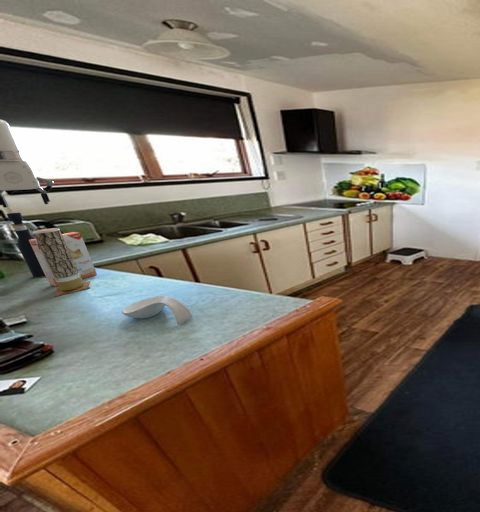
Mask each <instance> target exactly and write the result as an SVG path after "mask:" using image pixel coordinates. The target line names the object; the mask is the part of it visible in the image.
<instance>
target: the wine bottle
mask: <svg viewBox="0 0 480 512" xmlns="http://www.w3.org/2000/svg"><path fill="white" fill-rule="evenodd" d="M6 215H7V218H8V220H9V222H12V223H13V225H14V230H15V234H16V236H17V247H18V250H19V251H20V254H21V256H22V258H23V260H24V262H25V264H26V265H27V268H28V269H29V272H30V274H31V275H32V277H33V278H35V277H37V278H43V277H46V276H45V274H44V272H43V269H42V267H41V265H40V263H39V261H38V259H37V257H36V255H35V252H34V250H33V248H32V246H31V244H30V242H29V240H31V239H36V238H35V236H34V235H32V234H31V231H30V230H29V229H28V228H27V225H24V222H23V221H24V220H25V219H24V217H23V215H22V213H21V212H9V213H6ZM42 276H43V277H42Z"/></svg>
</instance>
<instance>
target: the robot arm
mask: <svg viewBox="0 0 480 512" xmlns="http://www.w3.org/2000/svg"><path fill="white" fill-rule="evenodd" d="M40 182H41V183H44V184H46V187H45V188H43V187H41V183H40ZM53 186H54V181H53V180H50V179H47V178H43V177H39V176H37V175H36V173H35V171H34V169H33V168H32V166H31V165H30V162H28V161H27V160H25V159H24V157H23V154H22V151H21V150H20V148H19V144H18V143H17V140H16V138H15V135H14V133H13V131H12V129H11V126H10V124H9V123H8V121H6V120H4V119H0V206H2V207H3V208H8V207H9V204H8V202H7V199H6V198H5V195H3V193H4V192H5V191H23V190H26V191H27V190H36V191H38V192H40V196H41V199H42V201H43V204H44V205H49V203H50V202H51V200H50V197H49V195H48V193H49V192H50V191H51V190H52V188H53Z"/></svg>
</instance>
